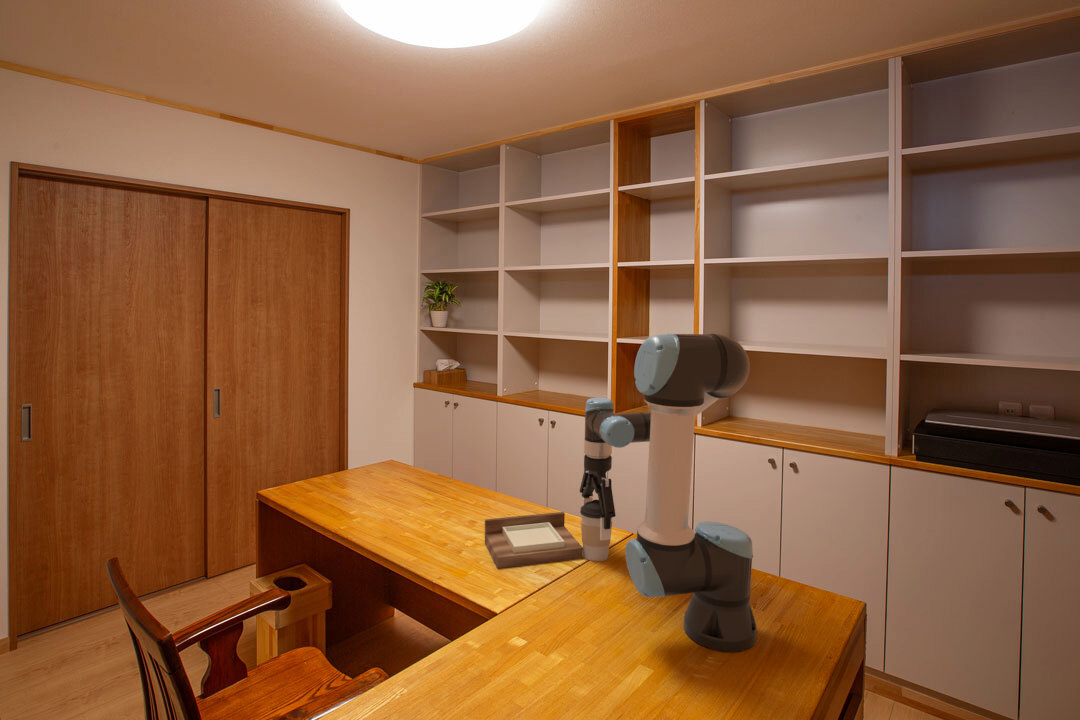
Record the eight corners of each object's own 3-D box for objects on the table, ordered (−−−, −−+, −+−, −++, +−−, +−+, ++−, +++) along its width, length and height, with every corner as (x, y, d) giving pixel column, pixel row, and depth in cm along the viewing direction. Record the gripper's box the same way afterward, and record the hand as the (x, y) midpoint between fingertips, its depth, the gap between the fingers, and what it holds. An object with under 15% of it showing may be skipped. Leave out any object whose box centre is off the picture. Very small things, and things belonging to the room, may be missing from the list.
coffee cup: (610, 564, 161) (612, 510, 159) (577, 561, 163) (578, 508, 161) (613, 550, 170) (614, 499, 168) (581, 547, 171) (582, 496, 170)
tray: (564, 547, 164) (564, 541, 164) (514, 553, 160) (514, 546, 160) (548, 528, 178) (549, 522, 177) (502, 532, 174) (502, 526, 173)
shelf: (582, 558, 164) (583, 533, 164) (497, 568, 158) (497, 543, 157) (562, 534, 181) (563, 511, 180) (484, 542, 174) (484, 519, 173)
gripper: (630, 467, 152) (627, 546, 155) (594, 442, 176) (591, 511, 178) (602, 469, 150) (600, 550, 153) (569, 443, 174) (568, 513, 176)
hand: (595, 529), depth 166 cm, fingers open, 13 cm apart
